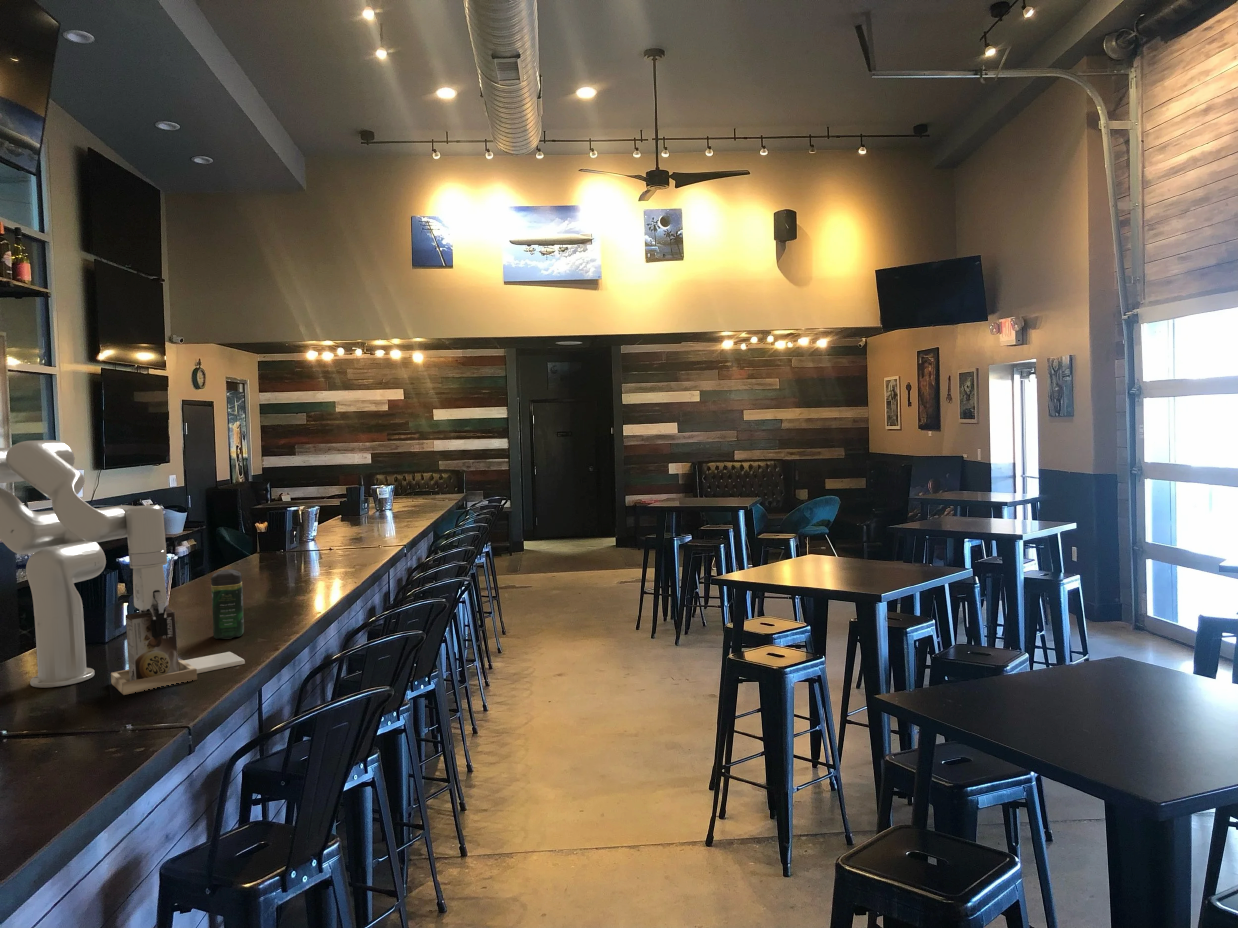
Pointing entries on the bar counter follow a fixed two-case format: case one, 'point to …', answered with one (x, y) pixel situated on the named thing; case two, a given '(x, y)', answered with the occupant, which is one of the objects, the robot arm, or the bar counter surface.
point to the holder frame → (152, 679)
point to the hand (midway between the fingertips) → (154, 633)
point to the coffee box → (150, 647)
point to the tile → (215, 662)
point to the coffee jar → (227, 604)
